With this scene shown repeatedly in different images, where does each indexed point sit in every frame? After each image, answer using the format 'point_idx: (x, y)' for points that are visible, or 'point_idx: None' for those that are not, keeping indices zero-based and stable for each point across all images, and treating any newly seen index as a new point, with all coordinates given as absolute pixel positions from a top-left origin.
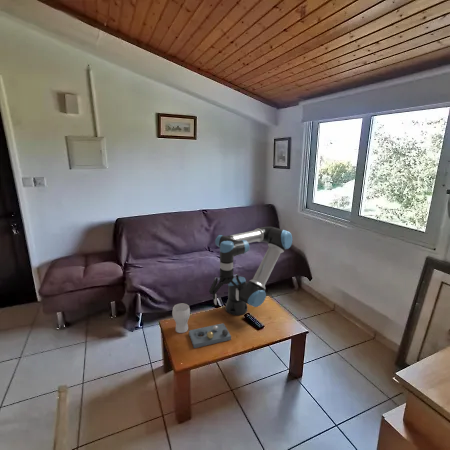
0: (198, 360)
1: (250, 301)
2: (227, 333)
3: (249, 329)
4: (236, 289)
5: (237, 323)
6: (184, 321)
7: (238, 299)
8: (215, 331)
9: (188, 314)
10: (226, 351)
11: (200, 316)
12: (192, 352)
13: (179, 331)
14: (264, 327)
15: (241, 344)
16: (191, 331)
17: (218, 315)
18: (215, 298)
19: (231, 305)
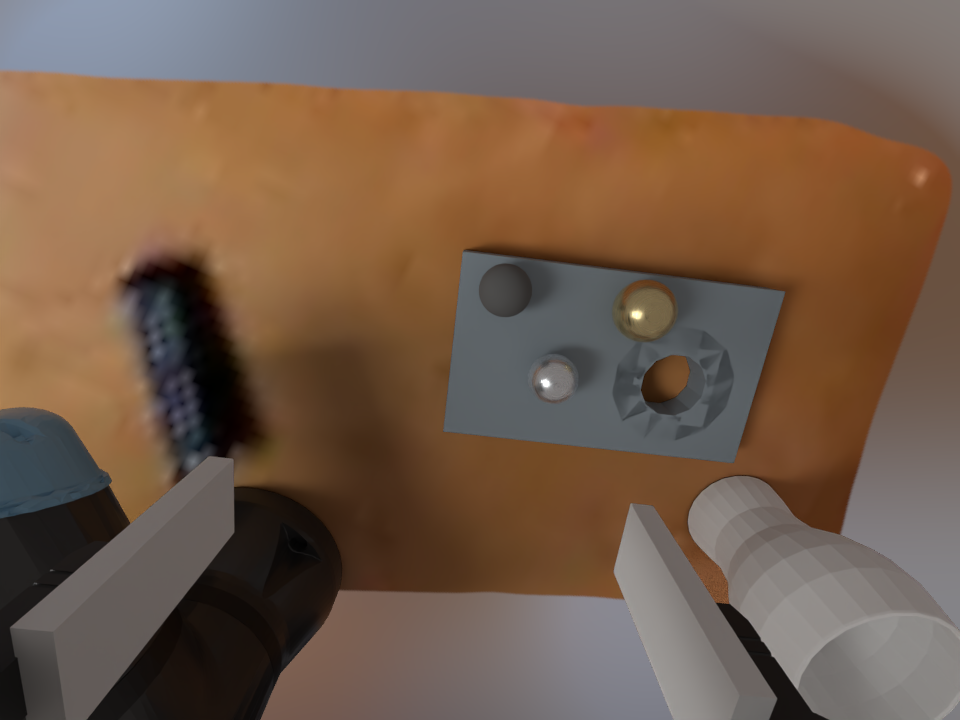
0: (803, 144)
1: (39, 460)
2: (492, 267)
3: (263, 298)
4: (61, 706)
5: (324, 407)
6: (805, 529)
7: (196, 468)
8: None
9: (803, 575)
10: (563, 136)
11: (548, 589)
12: (795, 250)
13: (775, 492)
14: (126, 264)
15: (412, 156)
16: (721, 443)
17: (421, 550)
18: (711, 602)
19: (288, 587)
